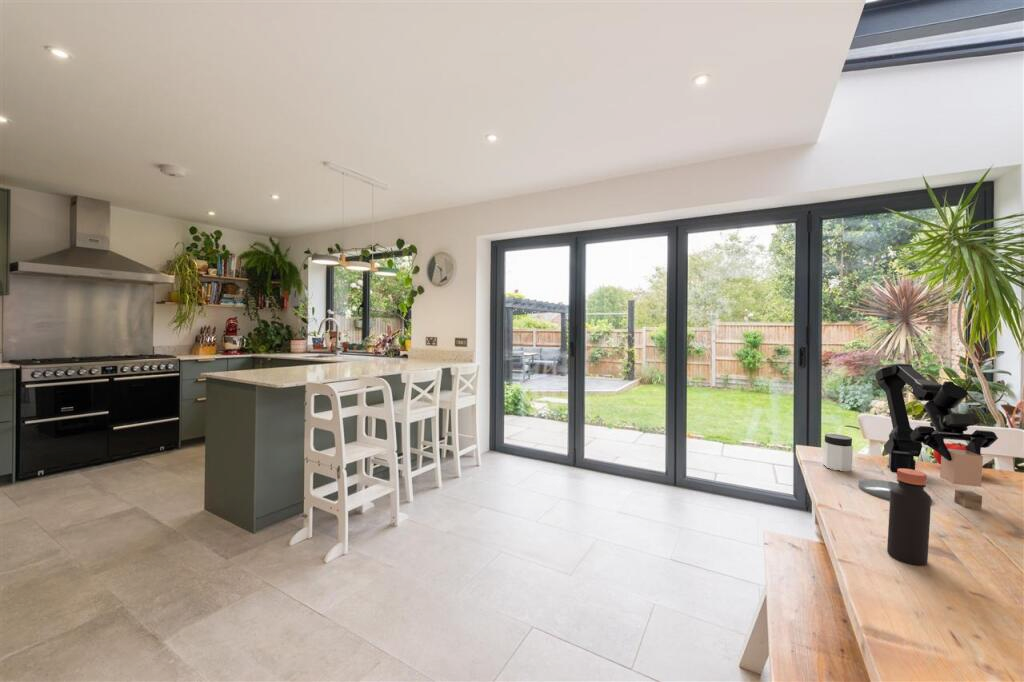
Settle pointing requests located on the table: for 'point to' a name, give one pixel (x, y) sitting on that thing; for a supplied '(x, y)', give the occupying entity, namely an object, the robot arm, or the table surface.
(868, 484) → the plate
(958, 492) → the block
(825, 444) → the jar
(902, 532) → the bottle
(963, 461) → the tan rectangular block
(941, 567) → the table surface
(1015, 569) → the table surface
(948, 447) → the tomato
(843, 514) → the table surface
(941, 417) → the robot arm
